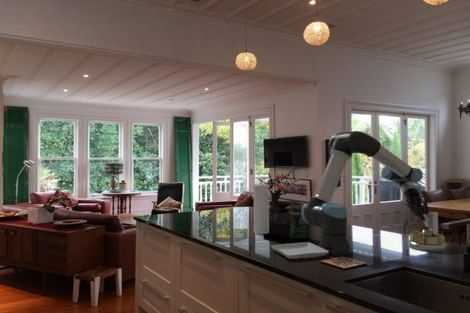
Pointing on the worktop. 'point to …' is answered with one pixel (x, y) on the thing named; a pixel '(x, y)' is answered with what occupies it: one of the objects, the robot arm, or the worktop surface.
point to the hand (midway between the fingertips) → (428, 225)
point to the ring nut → (432, 225)
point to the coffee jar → (297, 223)
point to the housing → (427, 246)
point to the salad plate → (300, 250)
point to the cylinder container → (261, 209)
